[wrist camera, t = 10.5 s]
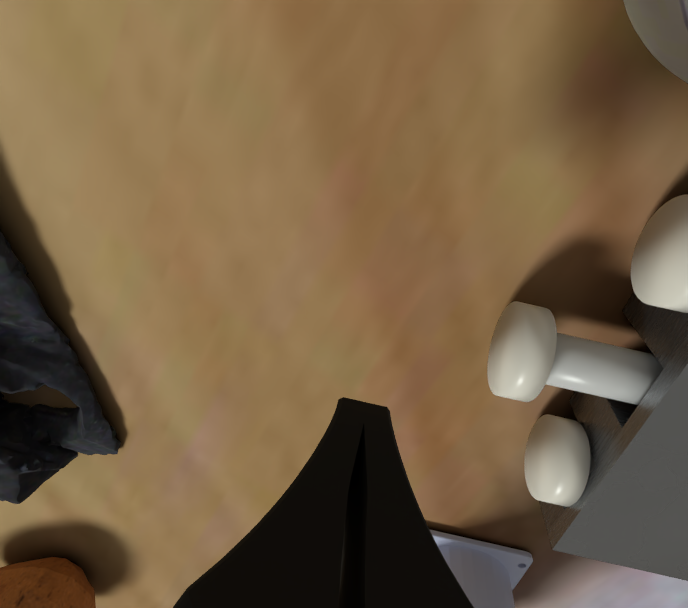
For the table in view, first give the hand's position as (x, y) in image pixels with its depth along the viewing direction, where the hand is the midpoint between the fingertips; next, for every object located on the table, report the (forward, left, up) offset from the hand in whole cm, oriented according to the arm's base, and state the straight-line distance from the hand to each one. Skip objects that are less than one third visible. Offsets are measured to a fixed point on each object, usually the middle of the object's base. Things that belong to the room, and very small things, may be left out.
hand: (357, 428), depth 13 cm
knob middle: (-1, -10, -9) cm, 14 cm away
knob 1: (-7, -14, -9) cm, 18 cm away
